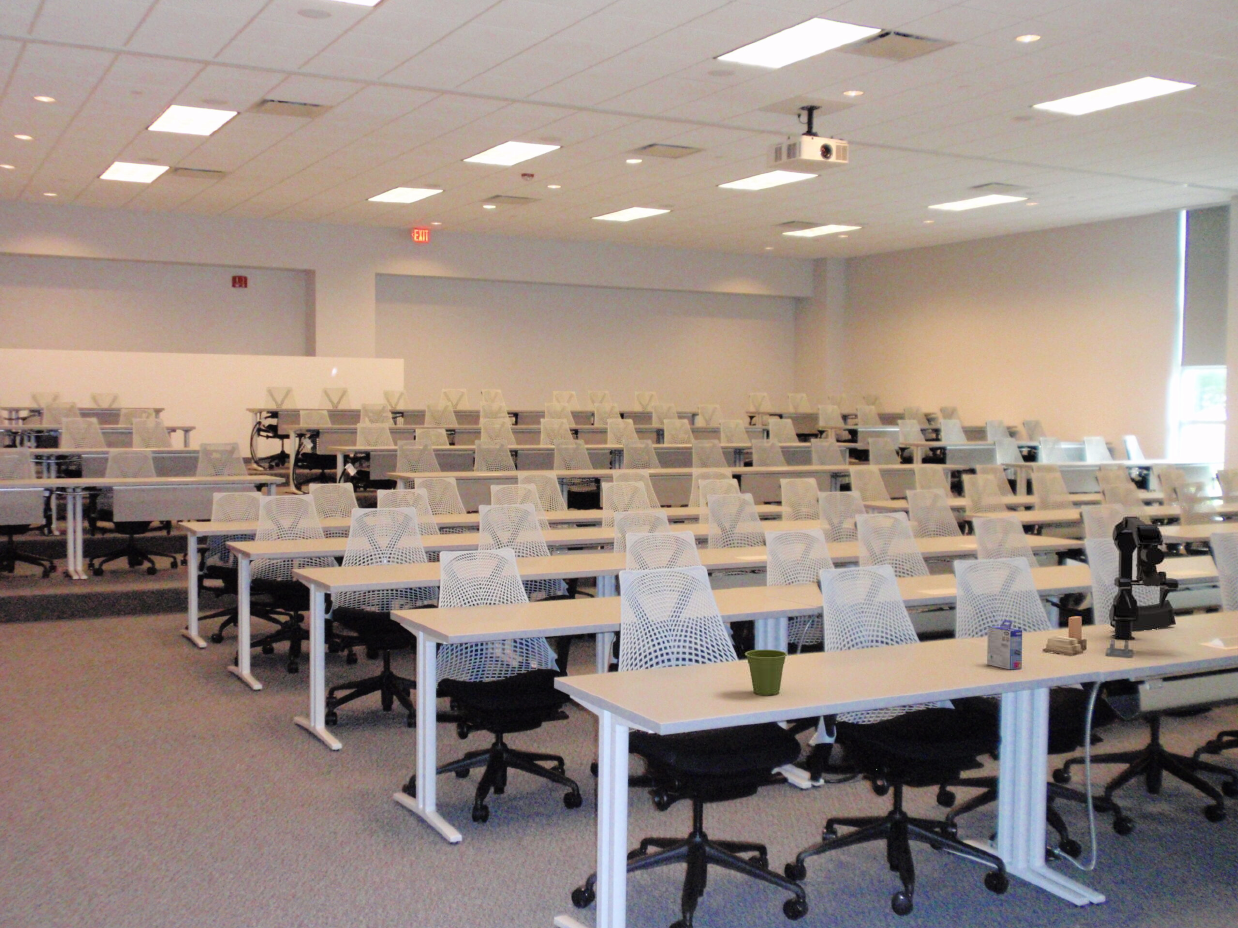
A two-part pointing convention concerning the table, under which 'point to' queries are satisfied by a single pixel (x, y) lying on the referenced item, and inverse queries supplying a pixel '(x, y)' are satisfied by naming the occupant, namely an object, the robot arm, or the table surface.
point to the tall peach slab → (1075, 627)
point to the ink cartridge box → (1004, 646)
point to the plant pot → (766, 670)
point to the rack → (1066, 645)
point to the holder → (1119, 650)
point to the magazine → (1153, 617)
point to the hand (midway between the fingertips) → (1145, 608)
